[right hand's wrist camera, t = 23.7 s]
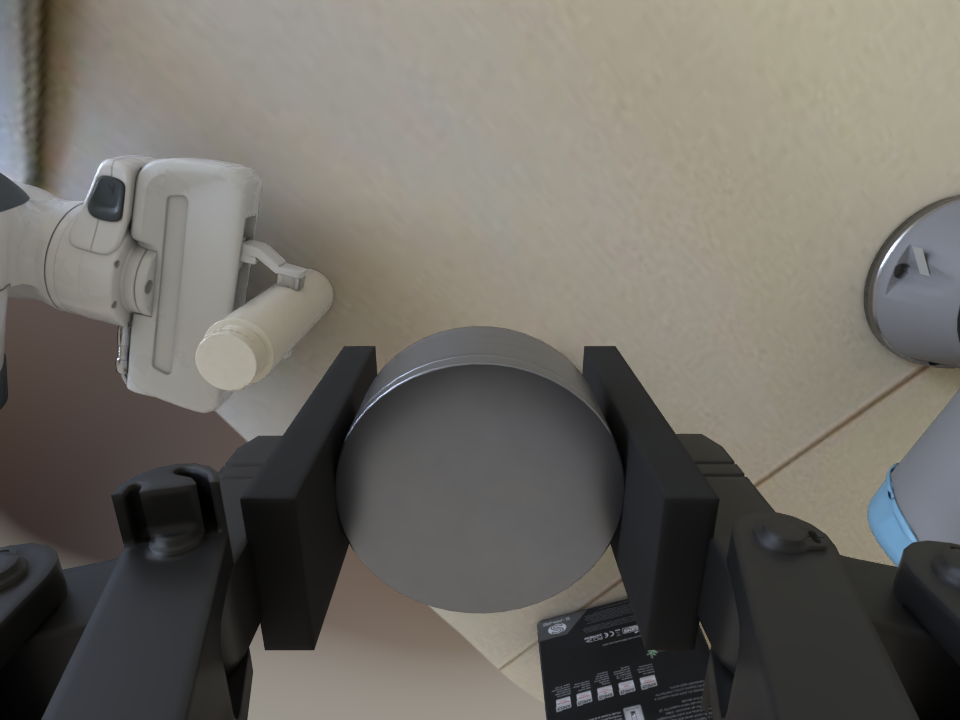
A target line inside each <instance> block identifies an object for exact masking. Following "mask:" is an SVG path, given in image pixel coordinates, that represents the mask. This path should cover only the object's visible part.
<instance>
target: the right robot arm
mask: <svg viewBox="0 0 960 720" xmlns="http://www.w3.org/2000/svg"><path fill="white" fill-rule="evenodd" d="M864 308H865V314H866V318H867V321H868V324H869V327H870V329H871V331H872V332H873V334H874V335H875V337H876V338H877V339H878V340H879V342H880V343H881V344H882V345H884V346H885V347H886V348H887V349H889V350H890V351H891V352H893V353H895V354H897V355H899V356H901V357H903V358H905V359H907V360H909V361H912V362H914V363H917V364H921V365H926V366H931V367H938V368H960V195H956V196H952V197H949V198H945V199H942V200H940V201H937V202H935V203H933V204H931V205H929V206H927V207H925V208H923V209H921V210H920V211H918V212H917V213H915V214H914V215H912V216H911V217H910V218H908V219H907V220H906V221H905V222H903V223H902V224H901V225H900V226H899V227H898V228H897V229H896V230H895V231H894V232H893V233H892V234H891V235H890V237H889V238H888V239H887V240H886V242H885V243H884V244H883V246H882V247H881V249H880V250H879V252H878V253H877V255H876V257H875V259H874V261H873V263H872V265H871V268H870V270H869V273H868V277H867V280H866V285H865V292H864ZM376 376H377V365H376V350H375V346H344V347H343V349H342V350H341V352H340V353H339V355H338V356H337V358H336V359H335V361H334V362H333V364H332V365H331V366H330V368H329V369H328V371H327V372H326V374H325V375H324V377H323V378H322V380H321V381H320V382H319V384H318V385H317V387H316V388H315V390H314V391H313V393H312V394H311V396H310V397H309V398H308V400H307V401H306V403H305V404H304V406H303V407H302V409H301V410H300V412H299V413H298V415H297V416H296V417H295V419H294V420H293V422H292V423H291V425H290V426H289V428H288V429H287V431H286V432H285V433H284V435H283V436H257V437H256V438H254V439H253V440H251V441H249V442H248V443H246V444H244V445H243V446H241V447H240V448H238V449H237V450H236V451H235V453H234V454H233V455H232V456H231V458H230V459H229V460H228V461H227V463H226V466H224V467H222V469H221V470H220V471H219V472H216V471H215V470H214V469H212V468H211V467H210V466H205V465H200V464H196V463H193V464H175V465H170V466H165V467H160V468H156V469H153V470H150V471H148V472H145V473H142V474H139V475H137V476H135V477H134V478H132V479H130V480H129V481H127V482H125V483H123V484H122V485H121V486H120V487H119V488H118V489H117V490H116V491H115V492H114V493H113V494H112V495H111V496H112V500H113V504H114V508H115V512H116V516H117V520H118V524H119V528H120V532H121V536H122V540H123V544H124V549H123V551H122V553H121V555H120V558H116V559H112V560H109V561H104V562H99V563H94V564H89V565H84V566H79V567H74V568H69V569H64V570H62V568H61V564H60V561H59V558H58V554H57V552H56V551H55V550H54V549H52V548H51V547H50V546H48V545H43V544H35V543H28V544H20V545H10V546H6V547H1V548H0V720H247V717H248V709H249V701H250V693H251V684H252V676H253V668H252V661H251V656H250V650H249V646H250V644H251V641H252V639H253V637H254V635H255V633H256V631H257V628H258V626H259V624H260V623H261V629H262V635H263V641H264V647H265V650H314V649H315V646H316V643H317V640H318V637H319V634H320V631H321V628H322V624H323V622H324V619H325V615H326V613H327V610H328V607H329V603H330V600H331V597H332V594H333V591H334V588H335V585H336V582H337V579H338V576H339V573H340V570H341V567H342V564H343V561H344V558H345V555H346V552H347V549H348V546H349V542H348V540H347V538H346V536H345V534H344V532H343V529H342V527H341V524H340V521H339V518H338V514H337V506H336V496H335V485H334V478H335V469H336V464H337V460H338V456H339V453H340V450H341V448H342V445H343V443H344V440H345V438H346V436H347V433H348V431H349V429H350V427H351V425H352V423H353V421H354V418H355V416H356V414H357V412H358V410H359V408H360V405H361V403H362V401H363V399H364V397H365V395H366V393H367V391H368V389H369V387H370V386H371V384H372V382H373V381H374V379H375V378H376ZM582 376H583V377H584V378H585V380H586V381H587V382H588V384H589V386H590V388H591V390H592V392H593V394H594V396H595V398H596V400H597V402H598V404H599V406H600V408H601V411H602V413H603V415H604V417H605V419H606V421H607V423H608V426H609V428H610V430H611V432H612V434H613V436H614V439H615V441H616V443H617V446H618V449H619V451H620V454H621V457H622V461H623V466H624V472H625V492H624V502H623V511H622V516H621V520H620V523H619V526H618V528H617V531H616V533H615V535H614V537H613V540H612V541H611V543H610V544H611V547H612V550H613V553H614V556H615V559H616V562H617V565H618V568H619V571H620V574H621V577H622V580H623V583H624V586H625V589H626V592H627V595H628V599H629V602H630V605H631V608H632V611H633V614H634V617H635V620H636V623H637V626H638V629H639V632H640V635H641V638H642V641H643V644H644V647H645V650H695V645H696V639H697V633H698V627H699V621H700V622H701V624H702V626H703V629H704V631H705V633H706V635H707V637H708V639H709V641H710V644H711V650H710V655H709V661H708V667H707V672H706V678H705V683H704V689H703V695H702V701H701V708H700V710H704V711H708V710H709V704H710V699H711V708H712V716H713V720H960V390H959V391H958V392H957V393H956V395H955V396H954V397H953V398H952V399H951V401H950V402H949V403H948V404H947V406H946V407H945V408H944V409H943V410H942V412H941V413H940V414H939V415H938V417H937V418H936V419H935V420H934V421H933V423H932V424H931V425H930V426H929V428H928V429H927V430H926V431H925V432H924V434H923V435H922V436H921V437H920V439H919V440H918V441H917V442H916V443H915V445H914V446H913V447H912V448H911V450H910V451H909V452H908V453H907V454H906V456H905V457H904V458H903V459H902V460H901V462H900V463H896V464H894V465H893V466H892V467H891V468H890V469H889V471H888V474H887V476H886V480H885V481H884V483H883V484H882V485H881V487H880V488H879V489H878V491H877V492H876V493H875V495H874V496H873V497H872V499H871V501H870V503H869V506H868V516H867V518H868V523H869V526H870V529H871V531H872V533H873V535H874V537H875V539H876V540H877V542H878V543H879V545H880V546H881V548H882V549H883V550H884V552H885V553H886V554H887V555H888V557H889V558H890V559H891V560H892V561H893V563H894V564H895V565H896V566H897V567H894V566H889V565H884V564H879V563H874V562H869V561H864V560H859V559H854V558H850V557H846V556H842V555H840V554H839V552H838V550H837V548H836V546H835V545H834V544H833V543H832V541H831V540H830V539H829V538H828V536H827V535H826V534H824V533H823V532H822V531H820V530H819V529H817V528H816V527H814V526H813V525H811V524H809V523H807V522H805V521H802V520H800V519H798V518H795V517H793V516H789V515H785V514H781V513H776V512H775V511H774V510H773V508H772V507H771V506H770V505H769V504H768V502H767V501H766V500H765V499H764V497H763V496H762V495H761V494H760V493H759V491H758V490H757V489H756V488H755V486H754V485H753V484H752V483H751V481H750V480H749V479H748V478H747V477H744V473H743V472H742V470H741V469H740V468H739V467H738V465H737V464H734V461H733V459H732V458H731V457H730V456H729V454H728V453H727V452H726V451H725V449H724V448H723V447H722V446H720V445H719V444H717V443H715V442H714V441H712V440H710V439H709V438H707V437H706V436H704V435H702V434H675V433H674V431H673V430H672V428H671V427H670V425H669V424H668V422H667V421H666V419H665V418H664V417H663V415H662V414H661V412H660V411H659V409H658V408H657V406H656V405H655V403H654V402H653V401H652V399H651V398H650V396H649V395H648V393H647V392H646V390H645V389H644V387H643V386H642V384H641V383H640V382H639V380H638V379H637V377H636V376H635V374H634V373H633V371H632V370H631V368H630V367H629V366H628V364H627V363H626V361H625V360H624V358H623V357H622V355H621V354H620V352H619V351H618V349H617V348H616V347H615V346H584V360H583V375H582Z"/></svg>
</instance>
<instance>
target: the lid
mask: <svg viewBox="0 0 960 720" xmlns="http://www.w3.org/2000/svg"><path fill="white" fill-rule="evenodd" d="M334 485H335V496H336V506H337V514H338V518H339V521H340V524H341V527H342V529H343V532H344V534H345V536H346V538H347V540H348V542H349V543H350V545H351V547H352V549H353V550H354V552H355V553H356V554H357V556H358V557H359V558H360V560H361V561H362V562H363V563H364V564H365V565H366V566H367V567H368V568H369V570H370V571H371V572H372V573H373V574H374V575H376V576H377V577H378V578H379V579H381V580H382V581H383V582H384V583H386V584H387V585H388V586H390V587H392V588H393V589H395V590H396V591H398V592H400V593H401V594H403V595H405V596H407V597H410V598H412V599H414V600H416V601H418V602H421V603H424V604H427V605H430V606H433V607H436V608H441V609H445V610H449V611H456V612H465V613H494V612H504V611H509V610H515V609H520V608H523V607H527V606H530V605H533V604H536V603H539V602H541V601H543V600H546V599H548V598H550V597H553V596H555V595H556V594H558V593H560V592H562V591H563V590H565V589H567V588H568V587H570V586H571V585H572V584H574V583H575V582H576V581H578V580H579V579H581V578H582V577H583V576H584V575H585V574H586V573H587V572H588V571H589V570H590V569H591V568H592V567H593V566H594V565H595V564H596V563H597V562H598V560H599V559H600V558H601V557H602V555H603V554H604V553H605V551H606V549H607V548H608V546H609V545H610V543H611V541H612V540H613V537H614V535H615V533H616V531H617V528H618V526H619V523H620V520H621V516H622V511H623V502H624V492H625V472H624V466H623V461H622V457H621V454H620V451H619V449H618V446H617V443H616V441H615V439H614V436H613V434H612V432H611V430H610V428H609V426H608V423H607V421H606V419H605V417H604V415H603V413H602V411H601V408H600V406H599V404H598V402H597V400H596V398H595V396H594V394H593V392H592V390H591V388H590V386H589V384H588V382H587V381H586V380H585V378H584V377H583V376H582V374H581V373H580V371H579V370H578V369H577V368H576V367H575V366H574V365H573V364H572V363H571V362H570V361H569V360H568V359H567V358H566V357H565V356H563V355H562V354H561V353H560V352H558V351H557V350H556V349H554V348H553V347H551V346H549V345H548V344H546V343H544V342H542V341H541V340H538V339H536V338H534V337H531V336H529V335H527V334H524V333H520V332H517V331H513V330H510V329H504V328H497V327H484V326H472V327H463V328H455V329H451V330H447V331H442V332H439V333H436V334H433V335H431V336H428V337H426V338H423V339H421V340H419V341H418V342H416V343H414V344H412V345H410V346H408V347H407V348H406V349H404V350H403V351H401V352H400V353H399V354H397V355H396V356H395V357H394V358H393V359H392V360H391V361H390V362H389V363H387V364H386V365H385V366H384V367H383V369H382V370H381V371H380V373H379V374H378V375H377V376H376V378H375V379H374V381H373V382H372V384H371V386H370V387H369V389H368V391H367V393H366V395H365V397H364V399H363V401H362V403H361V405H360V408H359V410H358V412H357V414H356V416H355V418H354V421H353V423H352V425H351V427H350V429H349V431H348V433H347V436H346V438H345V440H344V443H343V445H342V448H341V450H340V453H339V456H338V460H337V464H336V469H335V478H334Z"/></svg>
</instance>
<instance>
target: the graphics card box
mask: <svg viewBox="0 0 960 720" xmlns="http://www.w3.org/2000/svg"><path fill="white" fill-rule="evenodd" d="M537 629H538V642H539V652H540V661H541V671H542V681H543V690H544V700H545V711H546V719H547V720H713V716H712V708H711V699H710V704H709V710H708V711H704V710H700V708H701V701H702V695H703V689H704V683H705V678H706V672H707V667H708V661H709V655H710V649H709V647H708V644H707V642H706V639H705V637H704V635H703V633H702V630H701V628H700V626H699V627H698V633H697V639H696V645H695V650H645V647H644V644H643V641H642V638H641V635H640V632H639V629H638V626H637V623H636V620H635V617H634V614H633V611H632V608H631V605H630V602H629V599H626V600H622V601H618V602H614V603H610V604H606V605H602V606H598V607H594V608H591V609H587V610H583V611H578V612H575V613H571V614H567V615H563V616H559V617H556V618H552V619H548V620H544V621H541V622H539V623H538V624H537Z"/></svg>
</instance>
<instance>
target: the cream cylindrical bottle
mask: <svg viewBox="0 0 960 720" xmlns="http://www.w3.org/2000/svg"><path fill="white" fill-rule="evenodd" d="M333 297H334V294H333V289H332V286H331V284H330V282H329V281H328V279H327V278H326V277H325V276H324V275H323V274H321V273H320V272H318V271H315V270H312V269H307V272H306V277H305V282H304V287H303V288H301V289H300V290H294V289H291V288H289V287H288V286H286V287H282V286H278V285H276V284H274V285H273V286H271V287H270V288H268V289H267V290H265V291H264V292H262V293H261V294H259V295H258V296H256V297H255V298H253V299H252V300H250V301H248V302H247V303H245V304H244V305H242V306H241V307H239V308H238V309H236V310H235V311H233V312H232V313H230V314H229V315H227V316H226V317H224V318H222V319H221V320H219V321H218V322H216V323H215V324H214V325H212V326H211V327H210V328H209V329H208V331H207V332H206V334H205V336H204V338H203V339H202V341H201V342H200V343H199V346H198V348H197V351H196V365H197V368H198V370H199V372H200V374H201V375H202V377H203V378H204V379H205V380H206V381H207V382H208V383H210V384H211V385H213V386H215V387H217V388H220V389H222V390H227V391H239V390H242V389H244V387H246V386H247V385H250V384H254V383H257V382H259V381H260V380H262V379H263V378H264V377H265V376H267V374H268V373H269V372H270V371H271V370H272V369H273V368H274V367H275V366H276V365H277V364H278V363H279V362H280V361H281V360H282V359H283V358H284V357H285V355H286V354H287V353H288V352H289V351H290V350H291V349H292V348H293V347H294V346H295V345H296V344H297V343H298V342H299V341H300V340H301V339H302V338H303V336H304V335H305V334H306V333H307V332H308V331H309V330H310V329H311V328H312V327H313V326H314V325H315V324H316V323H317V322H318V321H319V320H320V319H321V317H322V316H323V315H324V314H325V313H326V312H327V311H328V310H329V309H330V307H331V305H332V303H333Z"/></svg>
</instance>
